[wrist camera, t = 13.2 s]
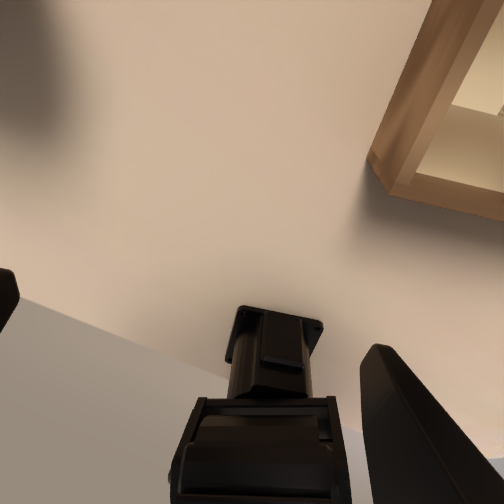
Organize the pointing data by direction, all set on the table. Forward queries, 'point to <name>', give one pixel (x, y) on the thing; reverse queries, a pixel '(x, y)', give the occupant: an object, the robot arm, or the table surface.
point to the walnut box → (449, 113)
